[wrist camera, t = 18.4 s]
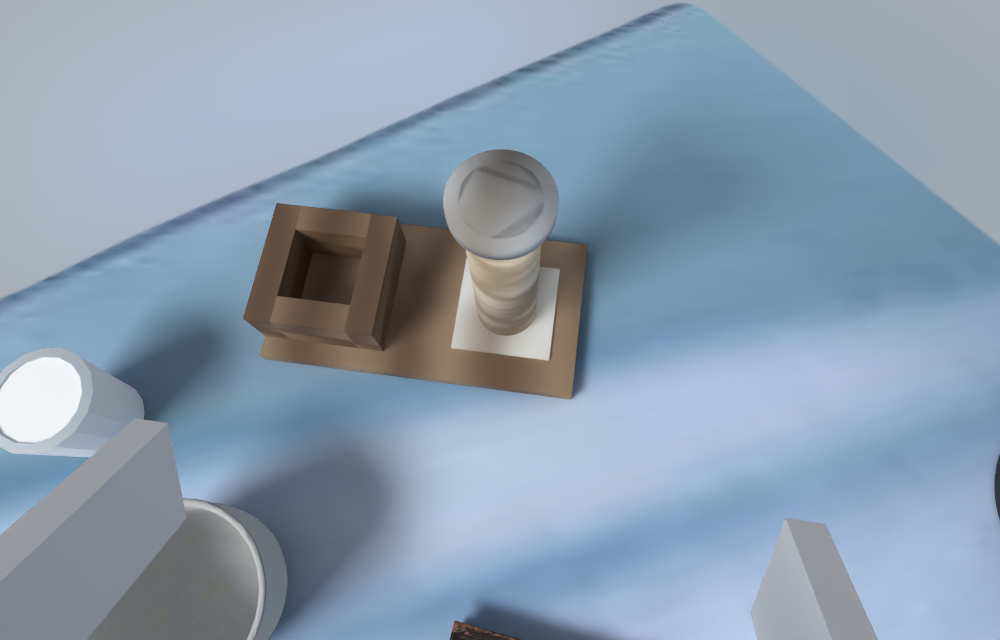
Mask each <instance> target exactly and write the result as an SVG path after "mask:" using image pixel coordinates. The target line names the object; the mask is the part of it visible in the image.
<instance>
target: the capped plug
mask: <svg viewBox="0 0 1000 640" xmlns="http://www.w3.org/2000/svg"><path fill="white" fill-rule="evenodd" d="M558 201H559V198H558V190H557V186H556V184H555V181H554V179H553V177H552V176H551V174H550V173H549V171H548V170H547V169H546V168H545V167H544V166H543V165H542V164H541V163H540V162H539V161H537V160H536V159H534V158H532V157H531V156H529V155H526V154H524V153H521V152H517V151H512V150H491V151H486V152H483V153H479V154H477V155H475V156H473V157H471V158H469V159H467V160H466V161H465V162H463V163H462V164H461V165H460V166H459V167H458V168H457V169H456V170H455V171H454V172H453V173H452V175H451V176H450V178H449V180H448V182H447V184H446V187H445V191H444V196H443V208H444V213H445V217H446V221H447V225H448V228H449V230H450V232H451V234H452V235H453V237H454V238H455V240H456V241H457V242H458V243H459V244H460V245H461V246H462V247H463V248H465V249H466V254H467V259H468V264H469V269H470V275H471V280H472V285H473V290H474V296H475V301H476V306H477V311H478V316H479V319H480V321H481V322H482V324H483V325H484V326H485V327H486V328H487V329H488V330H489V331H491V332H493V333H495V334H498V335H503V336H511V335H515V334H518V333H520V332H522V331H524V330H525V329H527V328H528V327H529V326H530V325H531V323H532V322H533V320H534V318H535V315H536V307H537V294H538V281H539V268H540V254H541V245H542V244H543V243H544V242H545V240H546V239H547V238H548V237H549V235H550V234H551V232H552V230H553V228H554V225H555V222H556V218H557V212H558Z"/></svg>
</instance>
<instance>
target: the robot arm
mask: <svg viewBox="0 0 1000 640" xmlns="http://www.w3.org/2000/svg"><path fill="white" fill-rule="evenodd" d="M995 499H996V506H997V511H998V515H999V519H1000V456H999V459H998V463H997V468H996V474H995ZM185 519H186V513H185V508H184V503H183V498H182V493H181V487H180V482H179V477H178V472H177V467H176V461H175V456H174V451H173V446H172V441H171V435H170V430H169V425H168V423H164V422H157V421H151V420H144V419H138V418H135V419H134V420H133V421H132V422H130V423H129V424H128V425H127V426H126V427H125V428H123V429H122V430H121V431H120V432H119V433H118V434H117V435H115V436H114V437H113V438H112V439H111V440H110V441H108V442H107V443H106V444H105V445H104V446H103V447H102V448H100V449H99V450H98V451H97V452H96V453H95V454H93V455H92V456H91V457H90V458H89V459H88V460H87V461H85V462H84V463H83V464H82V465H81V466H80V467H78V468H77V469H76V470H75V471H74V472H73V473H72V474H70V475H69V476H68V477H67V478H66V479H65V480H63V481H62V482H61V483H60V484H59V485H58V486H57V487H55V488H54V489H53V490H52V491H51V492H50V493H48V494H47V495H46V496H45V497H44V498H43V499H42V500H40V501H39V502H38V503H37V504H36V505H35V506H33V507H32V508H31V509H30V510H29V511H28V512H27V513H25V514H24V515H23V516H22V517H21V518H20V519H18V520H17V521H16V522H15V523H14V524H13V525H12V526H10V527H9V528H8V529H7V530H6V531H5V532H3V533H2V534H1V535H0V640H87V639H88V638H89V636H90V635H91V634H92V633H93V631H94V630H95V629H96V628H97V627H98V625H99V624H100V623H101V622H102V621H103V619H104V618H105V617H106V616H107V614H108V613H109V612H110V611H111V610H112V608H113V607H114V606H115V605H116V603H117V602H118V601H119V600H120V599H121V597H122V596H123V595H124V594H125V592H126V591H127V590H128V589H129V588H130V586H131V585H132V584H133V583H134V581H135V580H136V579H137V578H138V577H139V575H140V574H141V573H142V572H143V571H144V569H145V568H146V567H147V566H148V564H149V563H150V562H151V561H152V560H153V558H154V557H155V556H156V555H157V553H158V552H159V551H160V550H161V549H162V547H163V546H164V545H165V544H166V542H167V541H168V540H169V539H170V538H171V536H172V535H173V534H174V533H175V532H176V530H177V529H178V528H179V527H180V525H181V524H182V523H183V522H184V521H185ZM751 616H752V620H753V624H754V628H755V632H756V636H757V639H758V640H878V639H877V637H876V635H875V632H874V630H873V628H872V626H871V624H870V621H869V619H868V617H867V615H866V613H865V610H864V608H863V606H862V604H861V602H860V599H859V597H858V595H857V593H856V591H855V588H854V586H853V584H852V582H851V580H850V577H849V575H848V573H847V571H846V569H845V566H844V564H843V562H842V560H841V558H840V555H839V553H838V551H837V549H836V547H835V544H834V542H833V540H832V538H831V536H830V533H829V531H828V529H827V527H826V524H821V523H814V522H808V521H801V520H795V519H788V518H786V519H785V522H784V524H783V527H782V530H781V532H780V535H779V538H778V540H777V543H776V546H775V548H774V551H773V554H772V556H771V559H770V562H769V565H768V567H767V570H766V573H765V575H764V578H763V581H762V583H761V586H760V589H759V591H758V594H757V597H756V600H755V602H754V605H753V608H752V610H751Z"/></svg>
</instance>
